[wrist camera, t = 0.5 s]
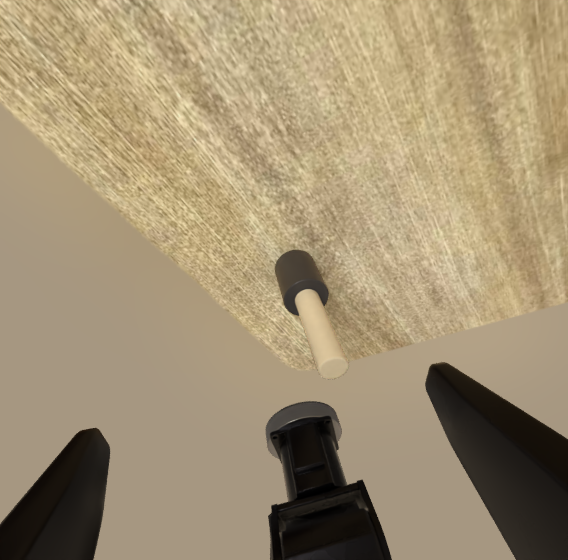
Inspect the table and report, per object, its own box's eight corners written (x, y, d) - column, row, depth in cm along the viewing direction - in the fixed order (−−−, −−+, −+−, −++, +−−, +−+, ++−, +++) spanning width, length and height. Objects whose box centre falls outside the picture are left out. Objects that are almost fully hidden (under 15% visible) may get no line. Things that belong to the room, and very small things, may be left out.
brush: (316, 277, 26) (364, 379, 17) (279, 288, 25) (310, 395, 17) (310, 244, 24) (360, 340, 16) (270, 256, 24) (299, 358, 16)
